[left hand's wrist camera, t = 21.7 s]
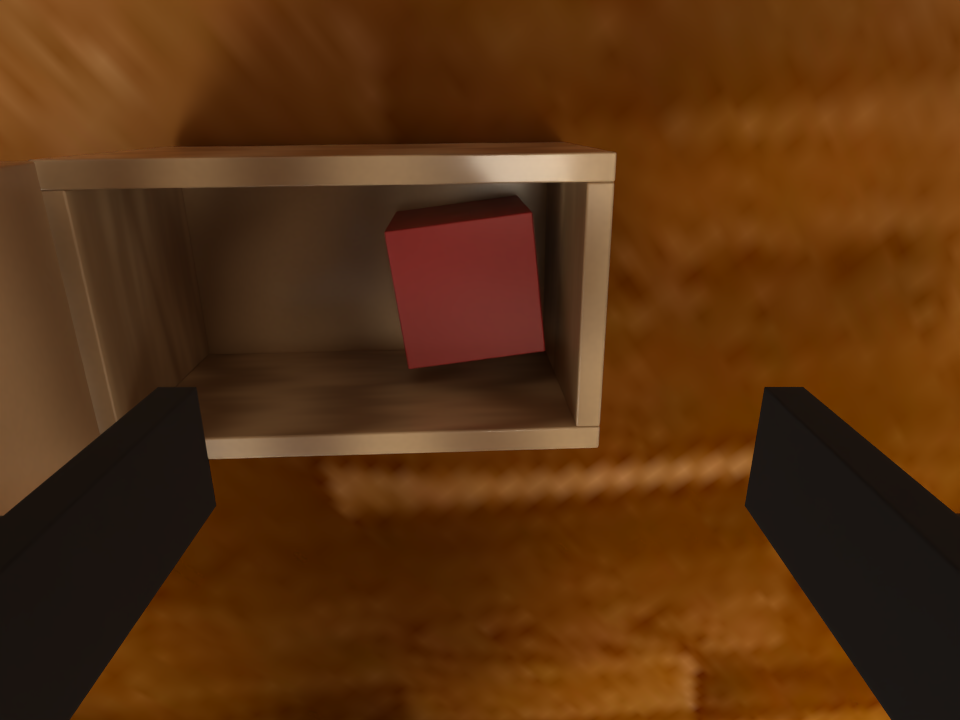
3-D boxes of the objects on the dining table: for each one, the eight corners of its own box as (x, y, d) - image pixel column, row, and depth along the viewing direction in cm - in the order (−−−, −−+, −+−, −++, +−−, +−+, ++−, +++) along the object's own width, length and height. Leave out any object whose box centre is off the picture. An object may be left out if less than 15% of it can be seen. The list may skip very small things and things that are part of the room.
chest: (564, 141, 28) (617, 152, 19) (557, 355, 32) (599, 448, 23) (163, 146, 28) (26, 159, 19) (201, 364, 31) (101, 463, 22)
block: (517, 195, 28) (532, 211, 23) (529, 312, 30) (545, 351, 25) (395, 211, 28) (383, 231, 23) (415, 328, 30) (408, 370, 25)
